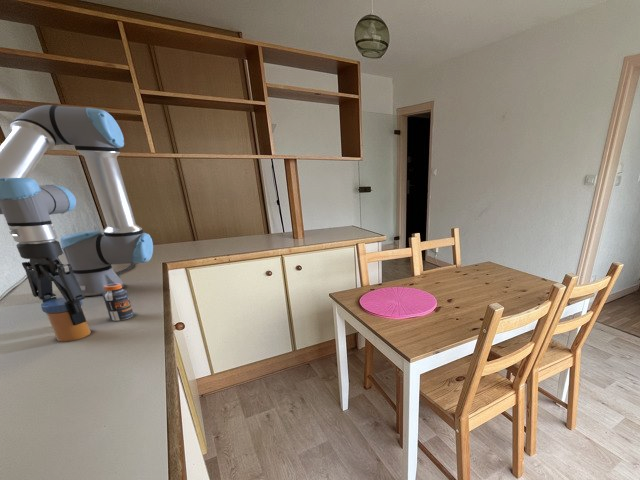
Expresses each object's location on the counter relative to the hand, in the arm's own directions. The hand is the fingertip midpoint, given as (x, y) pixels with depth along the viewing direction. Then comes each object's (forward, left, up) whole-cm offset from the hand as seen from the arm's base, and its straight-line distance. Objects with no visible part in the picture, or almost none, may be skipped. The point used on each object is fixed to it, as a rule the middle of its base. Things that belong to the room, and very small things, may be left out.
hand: (68, 321), depth 89 cm
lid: (0, 0, +6) cm, 6 cm away
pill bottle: (-10, +9, -5) cm, 14 cm away
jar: (0, 0, -5) cm, 5 cm away
